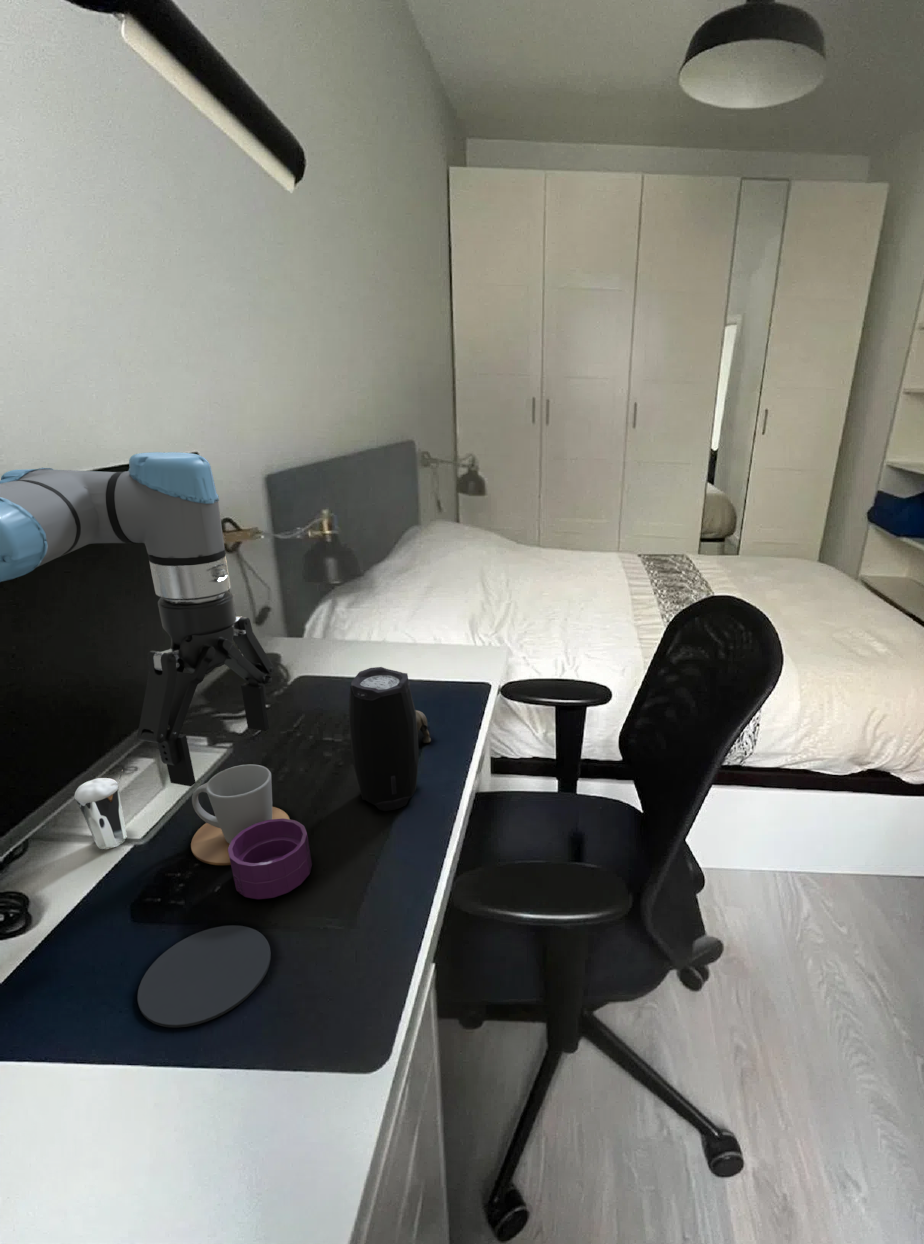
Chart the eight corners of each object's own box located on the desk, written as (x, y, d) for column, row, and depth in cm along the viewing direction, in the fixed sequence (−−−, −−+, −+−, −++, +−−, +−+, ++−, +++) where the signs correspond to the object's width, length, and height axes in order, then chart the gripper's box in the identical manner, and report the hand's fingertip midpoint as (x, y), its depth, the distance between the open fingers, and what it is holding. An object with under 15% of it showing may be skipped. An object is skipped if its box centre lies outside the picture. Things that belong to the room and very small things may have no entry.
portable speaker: (364, 780, 98) (352, 664, 90) (425, 779, 99) (418, 665, 91) (350, 813, 90) (336, 690, 82) (416, 813, 91) (409, 691, 83)
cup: (268, 851, 81) (258, 796, 78) (187, 853, 81) (174, 798, 77) (287, 815, 88) (279, 763, 85) (213, 816, 88) (202, 764, 84)
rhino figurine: (375, 719, 115) (373, 690, 113) (435, 739, 110) (433, 709, 107) (359, 729, 112) (356, 699, 110) (419, 750, 106) (417, 719, 104)
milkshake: (140, 843, 83) (122, 778, 79) (90, 857, 80) (69, 791, 76) (139, 824, 86) (122, 761, 82) (91, 837, 83) (71, 773, 79)
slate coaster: (107, 1013, 60) (106, 1010, 60) (198, 919, 71) (198, 916, 71) (217, 1040, 58) (216, 1037, 58) (294, 939, 69) (293, 936, 69)
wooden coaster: (169, 856, 80) (168, 854, 80) (233, 802, 91) (233, 799, 91) (252, 872, 78) (252, 870, 78) (308, 814, 89) (307, 812, 89)
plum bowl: (219, 895, 75) (211, 858, 73) (265, 848, 83) (259, 814, 80) (284, 908, 73) (278, 871, 71) (325, 859, 81) (320, 824, 79)
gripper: (132, 634, 60) (173, 817, 68) (290, 570, 83) (307, 713, 91) (66, 625, 61) (114, 806, 69) (239, 565, 84) (260, 706, 92)
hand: (223, 753), depth 80 cm, fingers open, 13 cm apart
